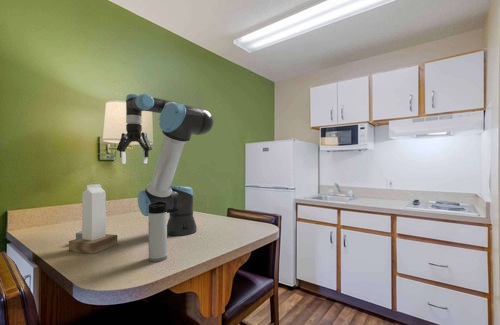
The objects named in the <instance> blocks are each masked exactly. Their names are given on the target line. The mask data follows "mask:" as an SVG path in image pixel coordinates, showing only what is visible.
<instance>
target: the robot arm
mask: <svg viewBox="0 0 500 325" xmlns="http://www.w3.org/2000/svg"><path fill="white" fill-rule="evenodd" d="M125 97H126V99H125V107H126V108H125V109H126V110H125V111H126V112H125V113H126V114H125V115H126V118H125V120H126V121H125V123H126V126H125V127H126V128H125V129H126V130H125V131H126V133H124V132H122V133H121V136H120V137H121V138H120V139H119V142H118V144H117V146H116V151H117V152H119V157H120V164H121V165H122V164H123V165H126V163H127V159H126V158H127V156H126V155H127V154H126V149H127V148H128V147H129V145H130V144H131V143H133V142H137V143H138V144H139V145H140V147H141V148H142V164H143V165H144V164H148V158H149V151H152V150H153V148H152V145H151V142H150V140H149V139H148V137H147V136H148V134H147V133H146V132H143V131H142V130H143V128H142V127H143V126H142V123H143V122H142V121H143V120H142V119H143V118H142V113H143V112H150V113H151V112H152V113H157V114H160V115H159V118H158V119H159V120H158V121H159V122H158V123H159V128H160V130H161V133H162V135H163V137H164V138H163V142H162V144H161V148H160V152H159V156H158V159H157V161H156V165H155V169H154V172H153V175H152V177H151V181H150V182H149V183H147V184H146V186H145V190H141V191H139V192H138V195H137V206H138V208H139V212H140V213H141V214H142V215H143V216H144V217H148V215H149V214H148V213H149V205H150V204H152V203H158V202H163V203H166V204H167V209H166V210H167V214H169V217H168V219H167V236H177V237H178V236H187V235H192V234H194V233H196V232H197V230H198V227H197V223H196V220H195V217H194V190H193V188H192V187H191V186H181V185H179V186H178V185H172V183H173V180H174V178H175V174H176V171H177V168H178V166H179V161H180V160H181V156H182V153H183V150H184V147H185V144H186V143H189V142H190V141H191V138H192V135H195V136H201V135H205V134H207V133H210V131H211V130H212V129H213V126H214V118H213V115H212V113H211V112H210V111H208V110H207V109H205V108H201V107H196V106H192V105H187V104H182V103H176V102H175V101H172V100H170V99H169V100H167V99H162V98H157V97H154V96H152V95H150V94H148V93H143V94H137V93H131V94H127V95H126V96H125Z"/></svg>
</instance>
